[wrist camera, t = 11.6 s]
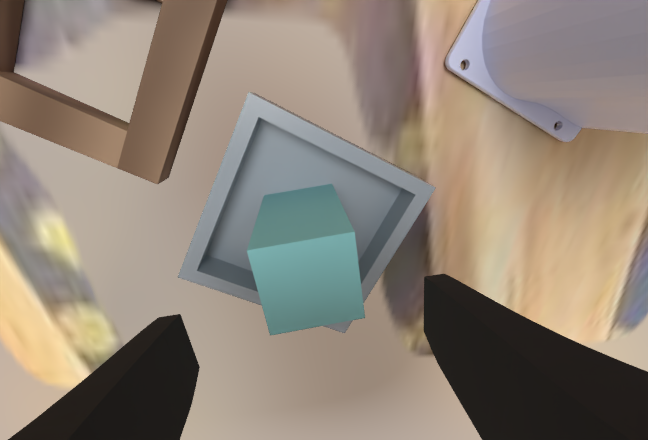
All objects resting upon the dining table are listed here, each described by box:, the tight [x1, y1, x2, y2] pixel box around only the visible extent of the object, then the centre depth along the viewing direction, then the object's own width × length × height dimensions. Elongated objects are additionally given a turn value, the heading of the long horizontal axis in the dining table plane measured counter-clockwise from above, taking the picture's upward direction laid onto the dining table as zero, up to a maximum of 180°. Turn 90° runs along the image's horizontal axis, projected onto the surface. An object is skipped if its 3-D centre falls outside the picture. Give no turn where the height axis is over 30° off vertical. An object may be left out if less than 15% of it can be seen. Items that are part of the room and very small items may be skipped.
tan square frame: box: [0, 0, 227, 184], centre depth 14 cm, size 10×10×2 cm
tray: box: [178, 92, 435, 333], centre depth 18 cm, size 11×11×2 cm
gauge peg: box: [247, 184, 365, 335], centre depth 15 cm, size 4×4×7 cm
